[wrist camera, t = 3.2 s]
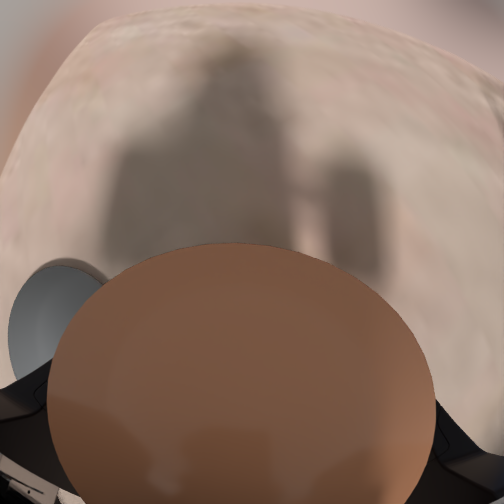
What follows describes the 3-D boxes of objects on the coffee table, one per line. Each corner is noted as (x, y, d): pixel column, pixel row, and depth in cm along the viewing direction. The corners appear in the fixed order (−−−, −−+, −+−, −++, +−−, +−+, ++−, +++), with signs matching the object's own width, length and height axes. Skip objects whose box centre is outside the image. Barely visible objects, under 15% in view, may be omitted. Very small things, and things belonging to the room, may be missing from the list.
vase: (268, 422, 15) (286, 598, 2) (179, 368, 16) (18, 451, 3) (325, 336, 16) (489, 365, 3) (234, 281, 17) (166, 168, 4)
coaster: (95, 461, 14) (91, 464, 13) (-1, 356, 15) (-6, 356, 15) (169, 336, 16) (166, 337, 15) (51, 237, 18) (47, 235, 17)
